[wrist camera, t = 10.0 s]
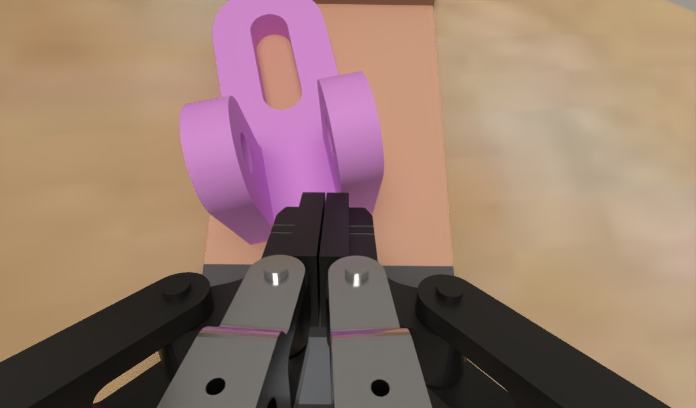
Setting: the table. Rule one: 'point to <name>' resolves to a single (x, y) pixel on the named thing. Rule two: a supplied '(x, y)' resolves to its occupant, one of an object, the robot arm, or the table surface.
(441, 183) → the lane
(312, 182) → the bracket
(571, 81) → the table surface
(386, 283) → the robot arm
